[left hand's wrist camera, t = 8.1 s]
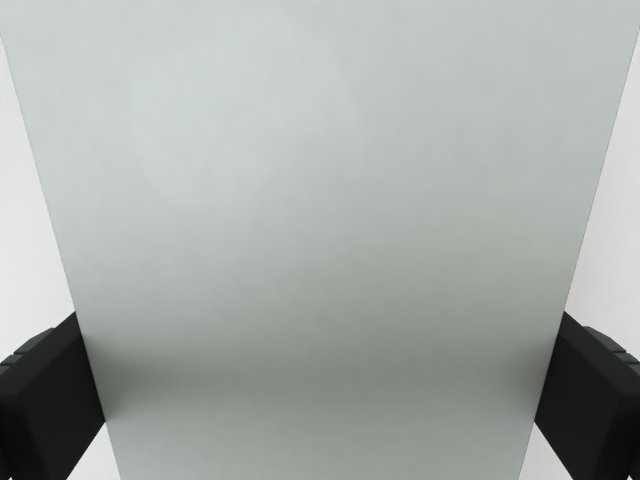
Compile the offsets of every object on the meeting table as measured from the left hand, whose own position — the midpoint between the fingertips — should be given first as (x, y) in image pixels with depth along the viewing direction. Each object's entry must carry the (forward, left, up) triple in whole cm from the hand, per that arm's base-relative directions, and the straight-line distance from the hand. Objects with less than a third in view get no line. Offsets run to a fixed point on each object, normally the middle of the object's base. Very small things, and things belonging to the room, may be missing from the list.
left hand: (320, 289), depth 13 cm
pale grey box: (+4, -3, -4) cm, 7 cm away
